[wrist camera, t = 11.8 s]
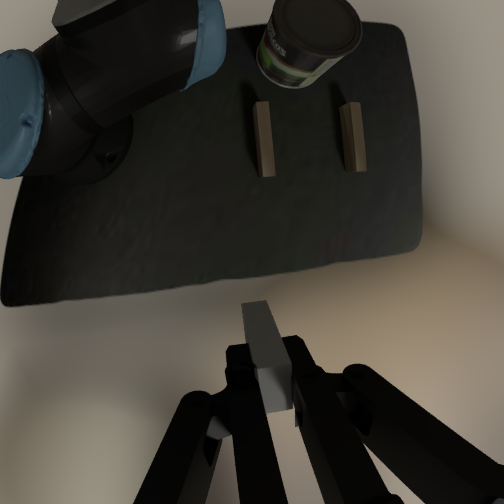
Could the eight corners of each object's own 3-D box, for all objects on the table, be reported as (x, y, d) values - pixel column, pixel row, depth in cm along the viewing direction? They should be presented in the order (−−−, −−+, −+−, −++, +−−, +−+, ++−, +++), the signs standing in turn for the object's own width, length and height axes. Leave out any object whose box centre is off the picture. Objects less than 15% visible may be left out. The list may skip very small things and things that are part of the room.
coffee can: (262, 92, 39) (283, 57, 25) (250, 33, 36) (264, -16, 22) (329, 87, 39) (372, 58, 26) (315, 31, 37) (349, -12, 23)
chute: (258, 176, 42) (263, 176, 38) (252, 108, 39) (255, 102, 35) (354, 170, 43) (366, 171, 39) (348, 107, 40) (359, 102, 37)
